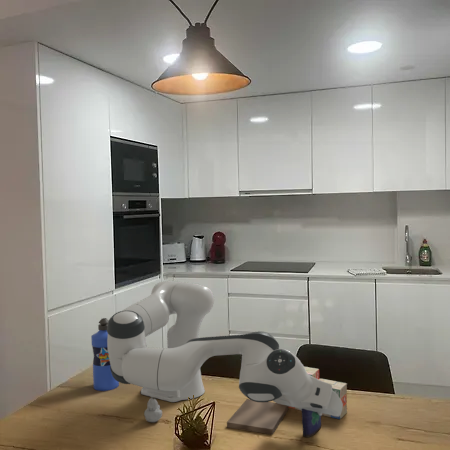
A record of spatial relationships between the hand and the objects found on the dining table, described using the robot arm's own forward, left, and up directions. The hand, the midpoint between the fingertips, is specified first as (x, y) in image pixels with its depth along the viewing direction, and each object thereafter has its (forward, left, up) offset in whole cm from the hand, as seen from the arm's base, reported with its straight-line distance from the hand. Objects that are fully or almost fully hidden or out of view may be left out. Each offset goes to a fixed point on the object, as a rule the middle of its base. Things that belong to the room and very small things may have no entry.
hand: (312, 411), depth 140 cm
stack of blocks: (-3, +14, -6) cm, 16 cm away
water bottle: (-78, +9, -6) cm, 79 cm away
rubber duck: (-47, -10, -6) cm, 48 cm away
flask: (0, -1, -6) cm, 6 cm away
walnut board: (-17, +2, -5) cm, 18 cm away
